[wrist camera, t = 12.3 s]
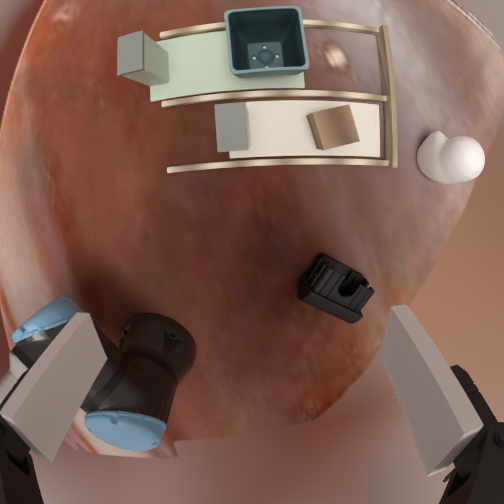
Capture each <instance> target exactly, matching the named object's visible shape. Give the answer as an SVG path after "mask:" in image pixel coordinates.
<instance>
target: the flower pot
mask: <svg viewBox="0 0 504 504" xmlns="http://www.w3.org/2000/svg"><path fill="white" fill-rule="evenodd" d="M224 18H225V27H226V36H227V47H228V57H229V69H230V72H231V73H232V74H233V75H235V76H236V77H238V78H253V77H266V76H284V75H298V74H300V73H302V72H303V71H305V70H306V69H308V68H309V59H308V52H307V46H306V40H305V33H304V26H303V19H302V12H301V9H300V7H298V6H275V7H259V8H245V9H234V10H228V11H226V12H225V13H224ZM263 46H266V49H264V48H263ZM276 55H279V58H276V57H275V56H276ZM254 56H255V57H256V59H255V60H254V59H253V57H254ZM265 66H269V68H265Z"/></svg>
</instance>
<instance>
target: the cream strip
mask: <svg viewBox="0 0 504 504" xmlns="http://www.w3.org/2000/svg"><path fill="white" fill-rule="evenodd" d="M348 104H349V106H350V109H351V112H352V115H353V119H354V122H355V125H356V129H357V132H358V136H359V140H360V142H355V143H351V144H347V145H343V146H339V147H335V148H331V149H327V150H320V149H316V145H315V142H314V139H313V136H312V132H311V129H310V126H309V123H308V120H307V117H306V115H308V114H310V113H313V112H317V111H321V110H325V109H330V108H334V107H339V106H343V105H348ZM215 120H216V135H217V150H218V152H227V151H229V153H230V158H244V157H264V156H297V155H336V156H369V157H380V127H379V105H375V104H365V103H353V102H337V101H303V100H290V101H256V102H239V103H226V104H216V105H215Z"/></svg>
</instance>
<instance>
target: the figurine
mask: <svg viewBox="0 0 504 504" xmlns="http://www.w3.org/2000/svg"><path fill="white" fill-rule="evenodd" d="M417 163H418V166H419V168H420V170H421V171H422V172H423V173H424V174H425V175H426V176H427V177H429V178H430V179H432V180H435V181H437V182H440V183H446V184H452V183H457V182H465V181H469V180H471V179H474V178H475V177H477V176H478V175H479V174H480V173H481V171H482V170H483V167H484V163H485V156H484V152H483V149H482V147H481V146H480V144H479V143H478V142H477V141H476V140H474V139H473V138H471V137H467V136H457V137H454V138H452V139H450V138H448V137H446V136H445V135H444V134H443V133H442V132H440V131H435V132H433V133H432V134H430V135H429V136H428V137H427V138H426V139H425V141H424V142H423V144H422V145H421V146H420V147H419V149H418V152H417Z"/></svg>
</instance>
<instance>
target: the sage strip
mask: <svg viewBox="0 0 504 504" xmlns="http://www.w3.org/2000/svg"><path fill="white" fill-rule="evenodd" d="M263 48H264V49H266V46H263ZM275 57H276V58H279V55H276V56H275ZM253 59H254V60H255V59H256V57H255V56H254V57H253ZM265 68H269V66H265ZM117 75H118V76H124V77H127V78H129V79H132V80H135V81H137V82H140V83H142V84H145V85H147V86H150V95H151V102H154V101H160V100H165V99H171V98H177V97H184V96H191V95H198V94H206V93H215V92H226V91H238V90H253V89H282V88H305V86H304V72H302V73H300V74H298V75H284V76H266V77H253V78H238V77H236V76H235V75H233V74H232V73H231V72H230V69H229V57H228V47H227V36H226V31H218V32H210V33H202V34H196V35H189V36H183V37H178V38H173V39H168V40H163V41H158V42H155V41H153V40H152V39H151V38H150V37H148V36H147V35H146V34H145V33H144V31H143V30H142V31H138V32H135V33H131V34H128V35H124V36H121V37H118V52H117Z"/></svg>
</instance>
